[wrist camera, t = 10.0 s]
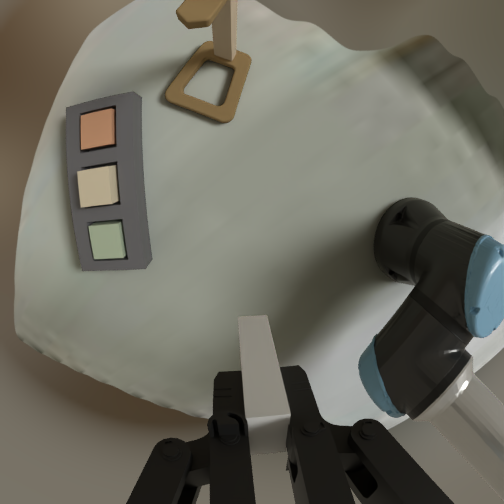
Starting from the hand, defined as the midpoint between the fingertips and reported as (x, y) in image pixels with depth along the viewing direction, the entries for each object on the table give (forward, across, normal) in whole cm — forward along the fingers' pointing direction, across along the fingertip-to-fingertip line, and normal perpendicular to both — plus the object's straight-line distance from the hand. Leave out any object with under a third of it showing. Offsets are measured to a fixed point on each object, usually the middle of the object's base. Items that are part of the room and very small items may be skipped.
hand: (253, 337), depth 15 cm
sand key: (+25, +19, -7) cm, 32 cm away
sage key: (+27, +19, +1) cm, 33 cm away
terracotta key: (+27, +19, -15) cm, 36 cm away
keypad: (+28, +19, -7) cm, 35 cm away
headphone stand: (+29, +3, -21) cm, 36 cm away
